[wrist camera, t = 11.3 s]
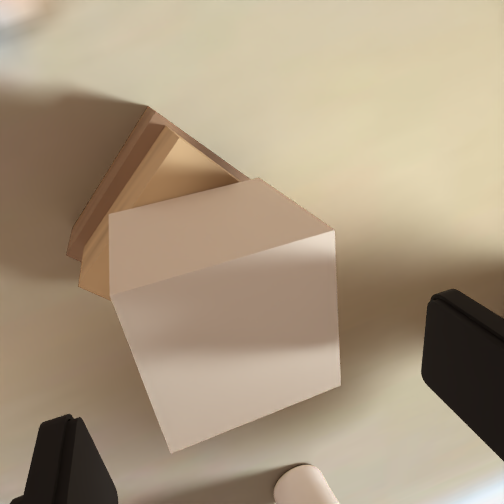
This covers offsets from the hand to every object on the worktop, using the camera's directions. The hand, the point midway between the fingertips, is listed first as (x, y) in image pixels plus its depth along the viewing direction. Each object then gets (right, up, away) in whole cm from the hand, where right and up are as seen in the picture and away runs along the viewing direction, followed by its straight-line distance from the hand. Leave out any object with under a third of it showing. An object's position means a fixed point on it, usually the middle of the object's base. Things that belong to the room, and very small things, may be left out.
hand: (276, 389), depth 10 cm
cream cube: (-3, +3, +6) cm, 8 cm away
